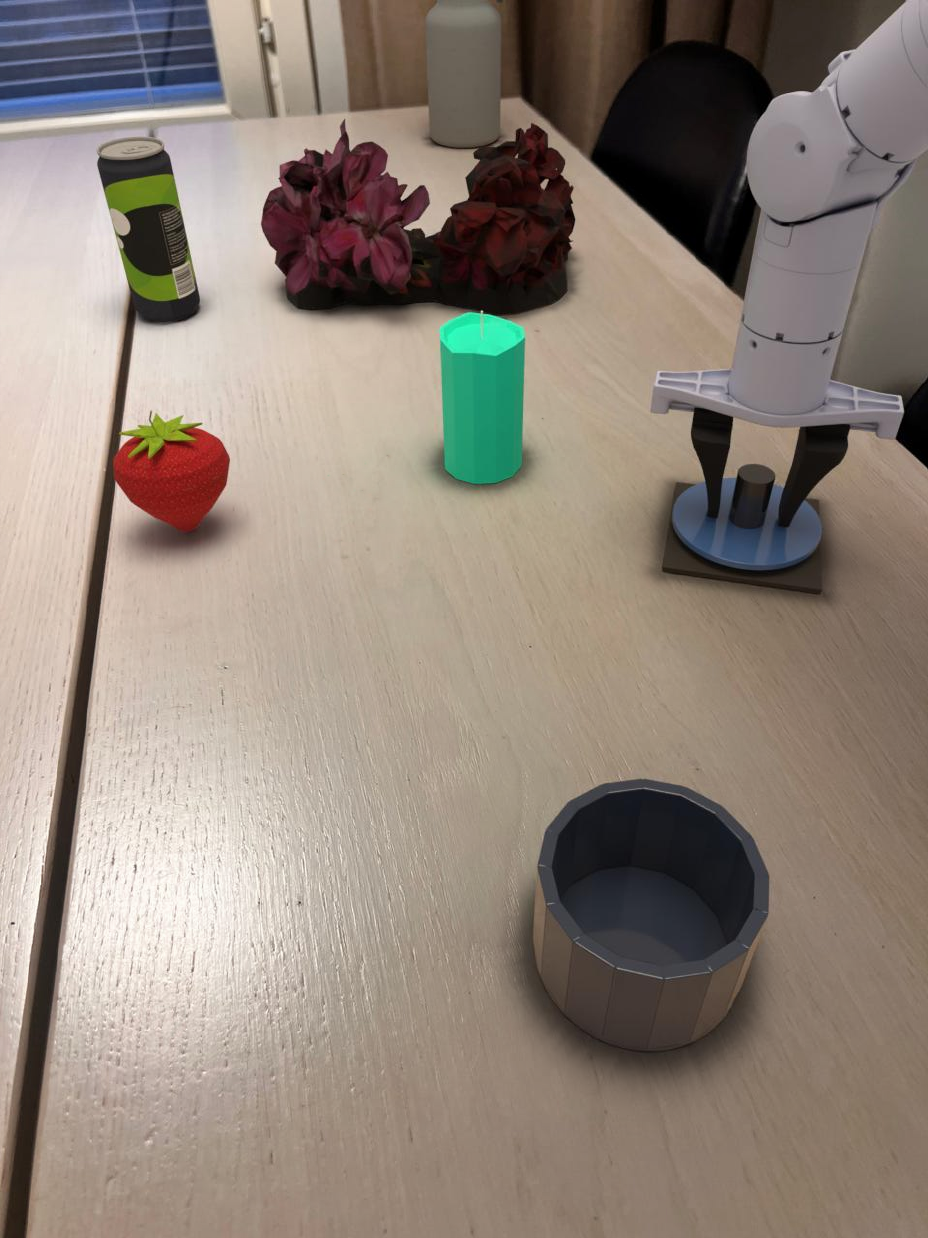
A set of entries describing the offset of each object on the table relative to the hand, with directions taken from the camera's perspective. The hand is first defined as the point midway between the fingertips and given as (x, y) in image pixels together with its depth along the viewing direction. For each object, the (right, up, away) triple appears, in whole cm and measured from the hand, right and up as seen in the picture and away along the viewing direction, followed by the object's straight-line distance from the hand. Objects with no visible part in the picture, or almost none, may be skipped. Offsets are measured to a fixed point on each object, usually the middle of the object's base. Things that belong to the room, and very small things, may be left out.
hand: (748, 513), depth 64 cm
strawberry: (-38, -1, +3) cm, 38 cm away
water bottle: (-19, +59, +68) cm, 92 cm away
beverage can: (-48, +23, +29) cm, 61 cm away
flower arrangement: (-23, +27, +33) cm, 48 cm away
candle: (-18, +5, +9) cm, 20 cm away
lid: (0, -1, +1) cm, 1 cm away
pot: (-11, -22, -21) cm, 32 cm away
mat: (0, -1, +1) cm, 2 cm away
